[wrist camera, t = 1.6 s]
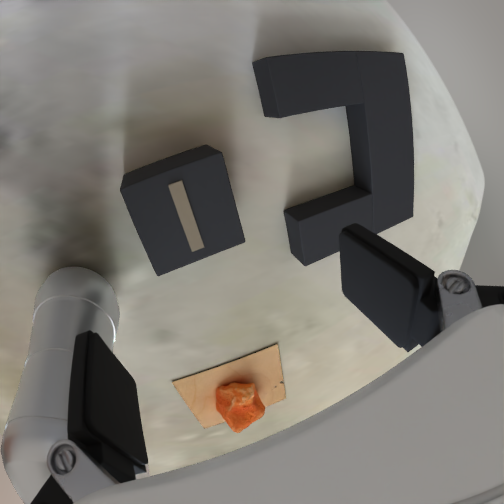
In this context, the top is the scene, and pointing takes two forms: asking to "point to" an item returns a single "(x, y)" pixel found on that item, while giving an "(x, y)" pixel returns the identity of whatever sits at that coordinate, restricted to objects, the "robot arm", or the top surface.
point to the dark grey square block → (183, 208)
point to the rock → (235, 390)
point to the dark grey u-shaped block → (361, 137)
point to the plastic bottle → (53, 371)
